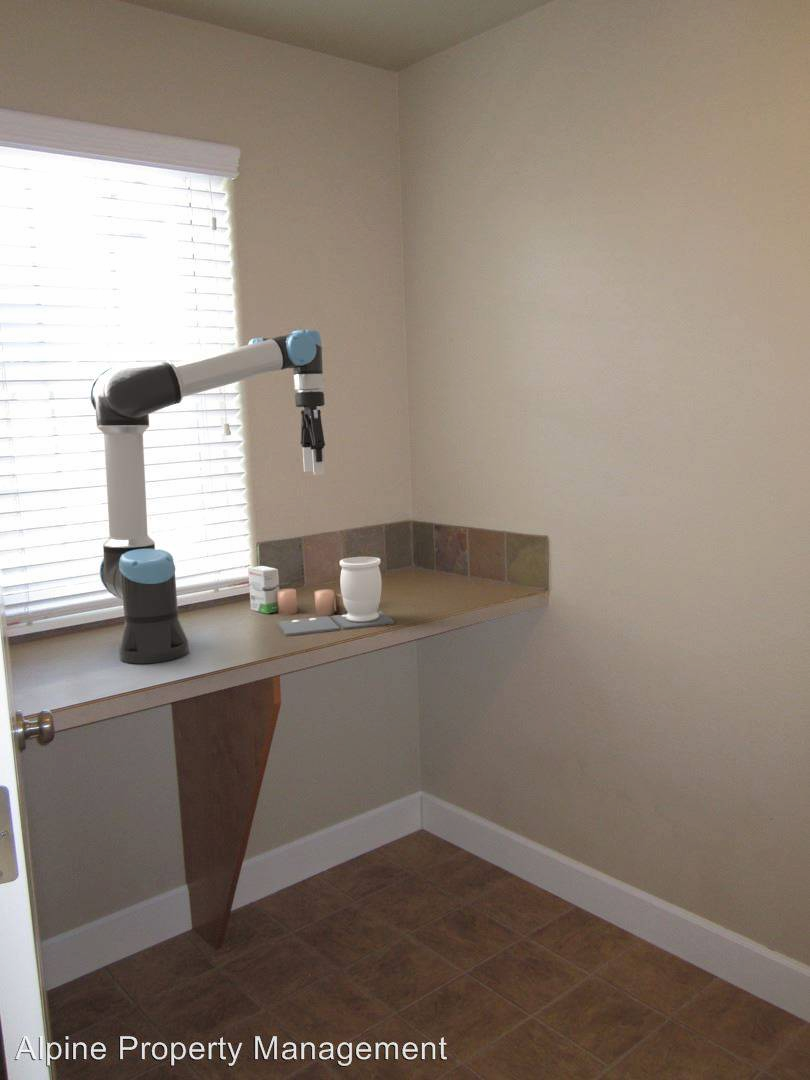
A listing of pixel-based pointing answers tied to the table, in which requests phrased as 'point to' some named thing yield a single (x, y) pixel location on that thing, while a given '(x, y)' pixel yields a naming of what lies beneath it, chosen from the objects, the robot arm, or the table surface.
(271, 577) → the ink box
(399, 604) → the table surface
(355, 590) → the jar
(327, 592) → the pink rounded piece
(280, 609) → the tan rounded block
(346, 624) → the pad three
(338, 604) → the walnut block
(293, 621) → the pad two
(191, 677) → the table surface
